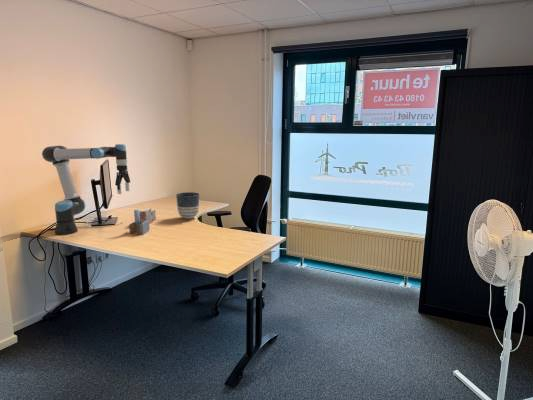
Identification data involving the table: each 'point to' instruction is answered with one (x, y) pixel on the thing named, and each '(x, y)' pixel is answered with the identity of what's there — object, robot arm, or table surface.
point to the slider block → (134, 228)
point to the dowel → (137, 217)
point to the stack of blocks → (147, 215)
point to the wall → (144, 227)
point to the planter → (187, 204)
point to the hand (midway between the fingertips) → (123, 192)
